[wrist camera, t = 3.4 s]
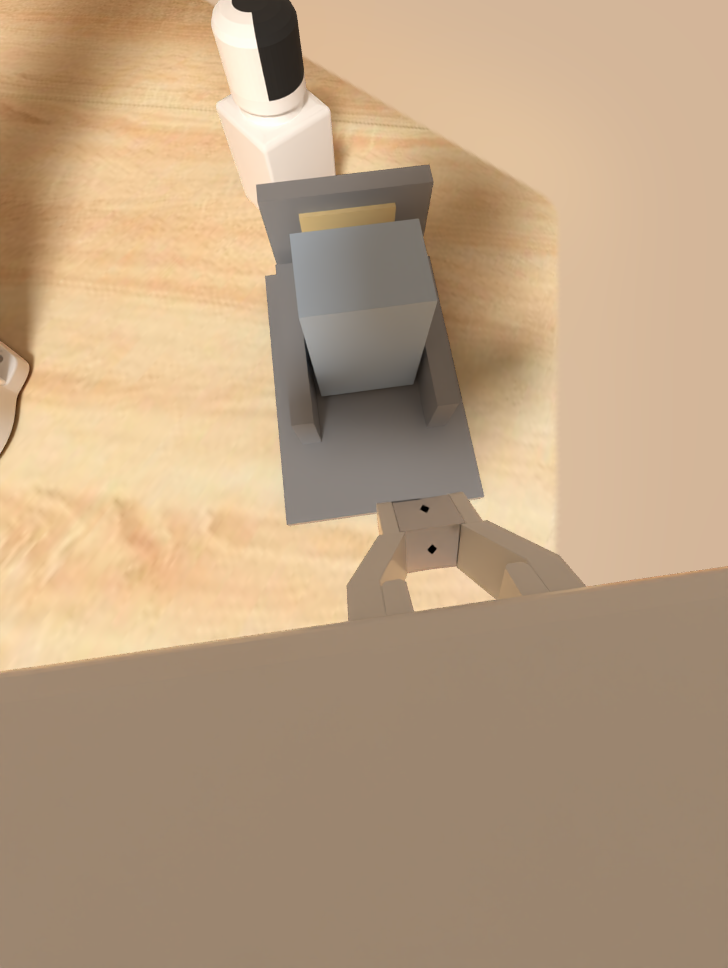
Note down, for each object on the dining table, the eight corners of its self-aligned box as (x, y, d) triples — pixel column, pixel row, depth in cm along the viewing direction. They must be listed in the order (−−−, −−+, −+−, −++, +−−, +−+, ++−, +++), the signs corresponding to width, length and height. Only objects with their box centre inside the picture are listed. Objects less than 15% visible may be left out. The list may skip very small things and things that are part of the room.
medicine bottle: (298, 165, 33) (260, -45, 21) (339, 203, 32) (324, 3, 20) (245, 198, 32) (176, -3, 20) (286, 239, 31) (238, 50, 19)
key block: (413, 384, 26) (437, 300, 17) (321, 396, 26) (298, 318, 17) (401, 325, 27) (418, 218, 18) (314, 336, 27) (289, 234, 18)
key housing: (479, 498, 25) (541, 472, 16) (290, 525, 25) (248, 513, 16) (427, 265, 30) (452, 149, 21) (268, 285, 30) (227, 174, 21)
